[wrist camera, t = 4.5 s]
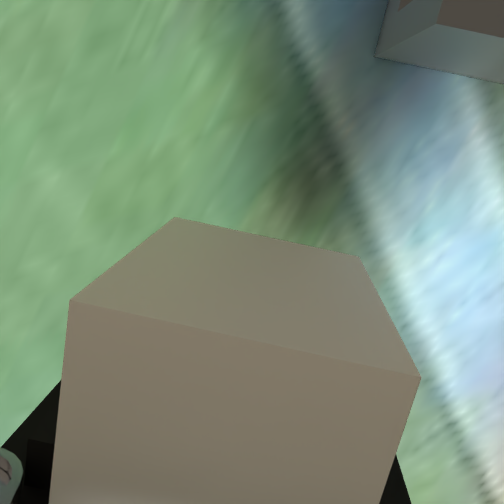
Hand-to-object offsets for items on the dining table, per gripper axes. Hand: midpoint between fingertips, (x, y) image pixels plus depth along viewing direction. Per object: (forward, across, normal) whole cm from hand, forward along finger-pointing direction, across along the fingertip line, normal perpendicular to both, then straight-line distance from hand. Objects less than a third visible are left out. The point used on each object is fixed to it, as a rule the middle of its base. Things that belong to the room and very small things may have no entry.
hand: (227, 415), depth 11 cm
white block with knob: (+1, 0, 0) cm, 1 cm away
